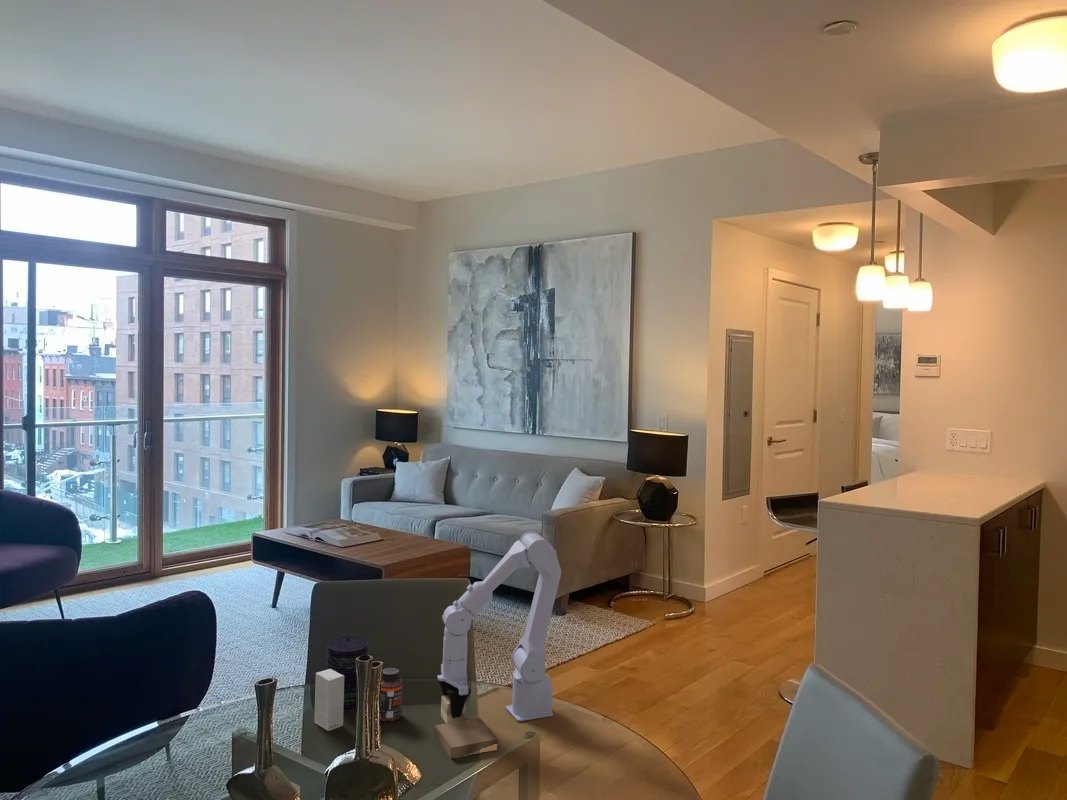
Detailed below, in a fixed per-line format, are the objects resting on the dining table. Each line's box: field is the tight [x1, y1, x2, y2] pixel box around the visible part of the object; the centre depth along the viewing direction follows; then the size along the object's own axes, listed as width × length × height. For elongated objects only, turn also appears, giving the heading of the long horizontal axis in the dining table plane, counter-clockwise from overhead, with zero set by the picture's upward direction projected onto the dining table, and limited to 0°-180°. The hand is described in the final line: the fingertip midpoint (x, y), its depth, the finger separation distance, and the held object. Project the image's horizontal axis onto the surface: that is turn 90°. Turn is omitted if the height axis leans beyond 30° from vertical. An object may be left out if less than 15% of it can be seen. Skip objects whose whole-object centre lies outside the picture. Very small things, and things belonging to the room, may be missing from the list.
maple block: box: [440, 695, 466, 724], centre depth 190 cm, size 4×4×5 cm
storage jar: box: [326, 636, 369, 713], centre depth 196 cm, size 10×10×15 cm
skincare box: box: [313, 668, 344, 732], centre depth 184 cm, size 6×4×12 cm
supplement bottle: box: [380, 667, 403, 722], centre depth 189 cm, size 6×6×11 cm
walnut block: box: [433, 717, 499, 760], centre depth 178 cm, size 11×11×3 cm
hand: (452, 712), depth 190 cm, fingers closed on maple block, 4 cm apart
